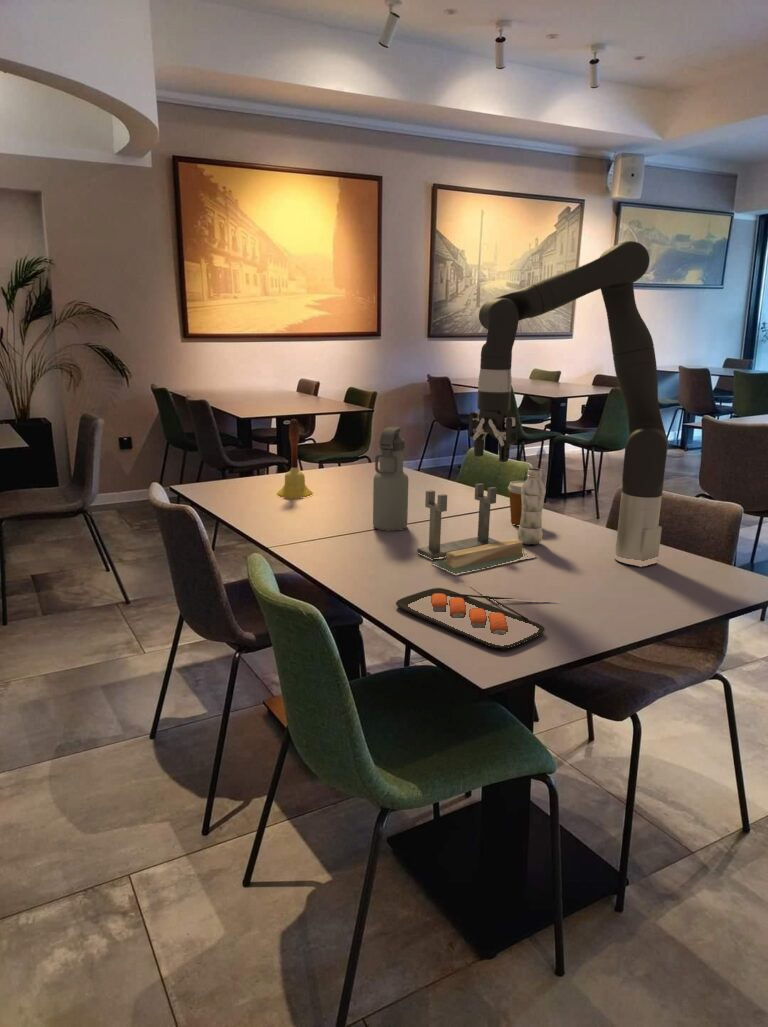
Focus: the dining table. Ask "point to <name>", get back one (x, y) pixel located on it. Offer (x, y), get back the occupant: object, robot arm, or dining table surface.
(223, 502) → the dining table surface
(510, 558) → the rubber mat
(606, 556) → the dining table surface
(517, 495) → the disposable coffee cup
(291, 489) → the handbell
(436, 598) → the sushi plate
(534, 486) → the plastic bottle
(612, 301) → the robot arm
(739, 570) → the dining table surface
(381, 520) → the water bottle
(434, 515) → the rail stand
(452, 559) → the beech rail
